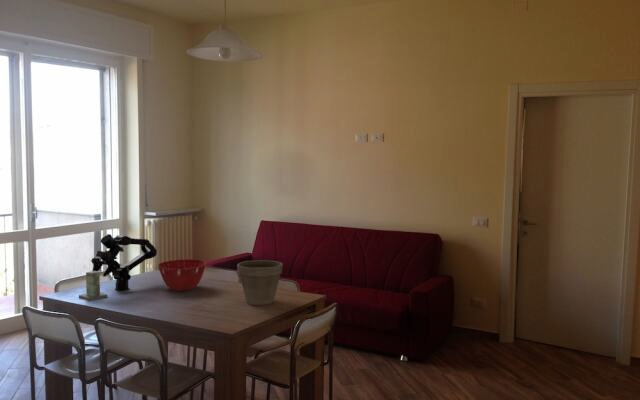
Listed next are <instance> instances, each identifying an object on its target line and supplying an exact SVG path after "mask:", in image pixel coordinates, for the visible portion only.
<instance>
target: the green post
mask: <svg viewBox="0 0 640 400" xmlns="http://www.w3.org/2000/svg"><path fill="white" fill-rule="evenodd" d="M100 274H101V273H100V271H99V270H98V271H92V270H91V271H86V272H85V284H86V286H85V287H86V292H85V293H86V294H87V295H88V296H96V295H99V294H100V292H101V279H100V278H101V277H100V276H101V275H100Z"/></svg>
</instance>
